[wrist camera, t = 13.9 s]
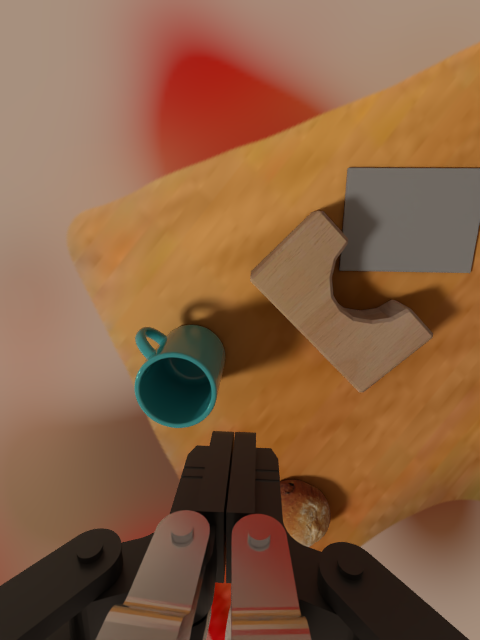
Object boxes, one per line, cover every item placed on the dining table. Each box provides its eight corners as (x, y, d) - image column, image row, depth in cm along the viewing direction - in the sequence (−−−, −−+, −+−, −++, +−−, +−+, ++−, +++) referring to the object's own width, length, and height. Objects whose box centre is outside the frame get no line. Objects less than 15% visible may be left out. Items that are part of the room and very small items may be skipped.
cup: (174, 294, 47) (149, 316, 36) (239, 354, 49) (234, 392, 38) (132, 339, 49) (96, 373, 38) (195, 396, 51) (178, 443, 40)
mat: (487, 168, 41) (489, 168, 41) (468, 272, 44) (470, 272, 44) (347, 168, 42) (348, 167, 41) (338, 270, 45) (339, 270, 44)
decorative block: (322, 207, 38) (437, 335, 41) (313, 210, 43) (415, 323, 46) (248, 279, 40) (362, 396, 43) (248, 273, 46) (350, 377, 49)
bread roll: (283, 515, 60) (303, 566, 54) (242, 503, 54) (258, 559, 48) (326, 480, 58) (351, 529, 51) (287, 464, 52) (310, 517, 46)
